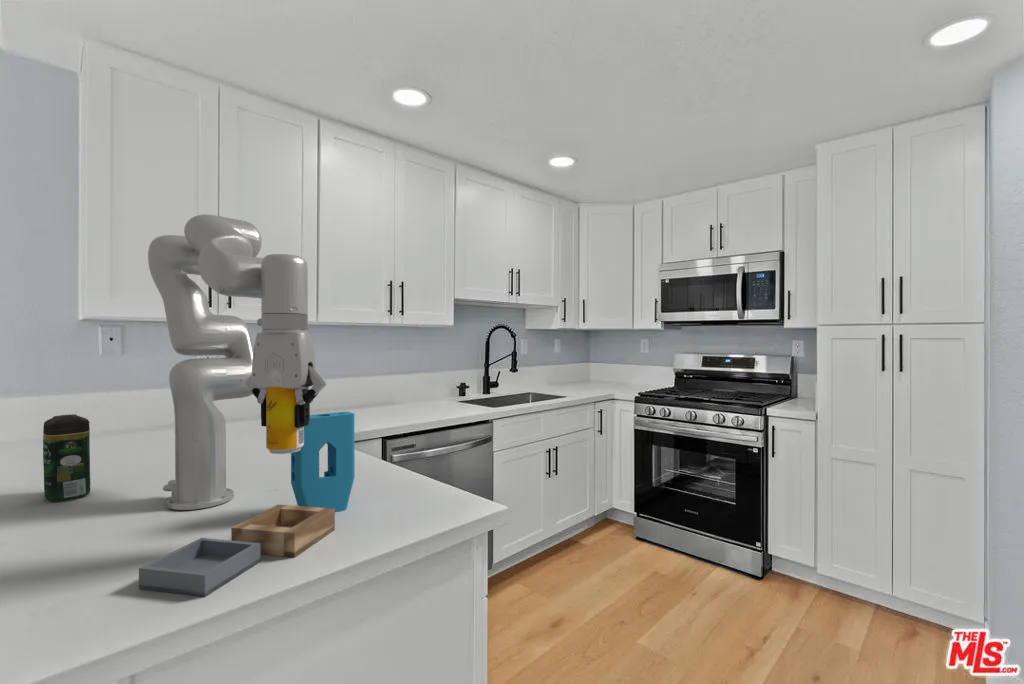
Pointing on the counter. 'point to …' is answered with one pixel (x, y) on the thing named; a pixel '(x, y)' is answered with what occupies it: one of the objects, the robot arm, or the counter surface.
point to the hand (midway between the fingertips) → (285, 424)
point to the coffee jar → (66, 457)
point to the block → (340, 462)
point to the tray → (199, 567)
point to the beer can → (281, 417)
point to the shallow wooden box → (286, 529)
